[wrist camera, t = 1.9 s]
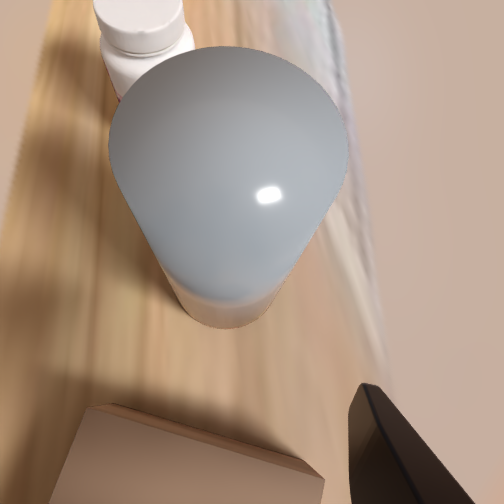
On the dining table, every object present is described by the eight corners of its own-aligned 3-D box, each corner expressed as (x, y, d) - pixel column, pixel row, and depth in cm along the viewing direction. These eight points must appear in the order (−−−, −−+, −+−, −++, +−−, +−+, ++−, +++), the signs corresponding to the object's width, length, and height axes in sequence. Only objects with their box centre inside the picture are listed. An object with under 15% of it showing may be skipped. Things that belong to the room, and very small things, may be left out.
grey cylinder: (263, 342, 21) (321, 282, 9) (158, 311, 21) (66, 208, 9) (289, 243, 23) (366, 79, 11) (192, 216, 23) (158, 22, 11)
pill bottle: (114, 110, 25) (63, -18, 17) (177, 81, 26) (157, -52, 18) (150, 163, 24) (115, 53, 16) (214, 130, 25) (210, 12, 17)
